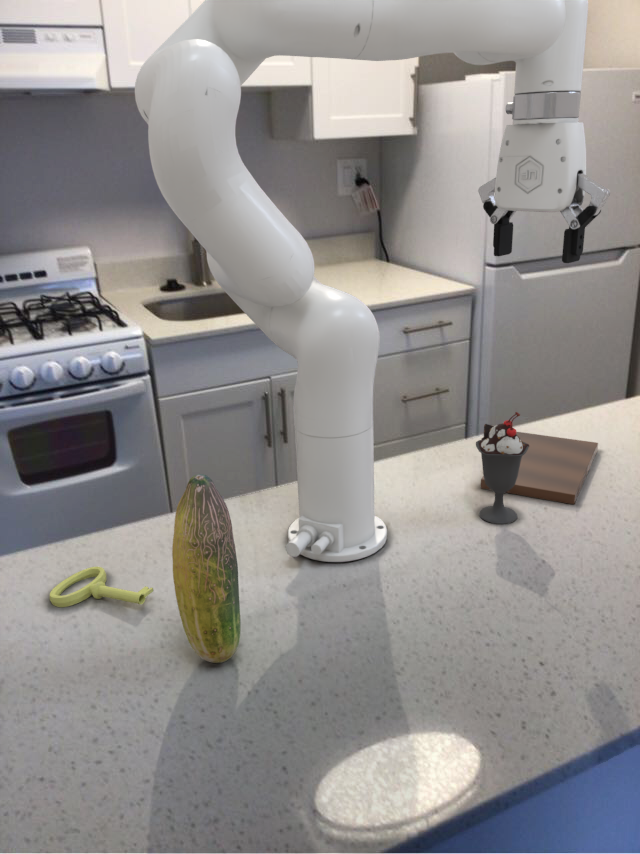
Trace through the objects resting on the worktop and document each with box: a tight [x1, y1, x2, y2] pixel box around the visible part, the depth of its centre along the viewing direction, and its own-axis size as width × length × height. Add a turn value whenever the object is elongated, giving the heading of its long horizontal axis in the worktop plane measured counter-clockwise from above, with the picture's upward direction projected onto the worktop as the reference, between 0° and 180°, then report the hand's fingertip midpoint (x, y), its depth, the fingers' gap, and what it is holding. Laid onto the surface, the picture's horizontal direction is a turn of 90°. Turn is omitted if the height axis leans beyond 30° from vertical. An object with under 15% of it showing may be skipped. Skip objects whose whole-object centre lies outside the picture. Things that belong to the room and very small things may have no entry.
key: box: [49, 566, 154, 608], centre depth 87 cm, size 7×12×2 cm, turn 80°
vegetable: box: [171, 473, 241, 664], centre depth 72 cm, size 6×6×20 cm
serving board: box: [480, 431, 599, 505], centre depth 113 cm, size 20×13×2 cm, turn 153°
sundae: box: [475, 411, 529, 525], centre depth 98 cm, size 7×7×15 cm
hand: (535, 258), depth 95 cm, fingers open, 9 cm apart
